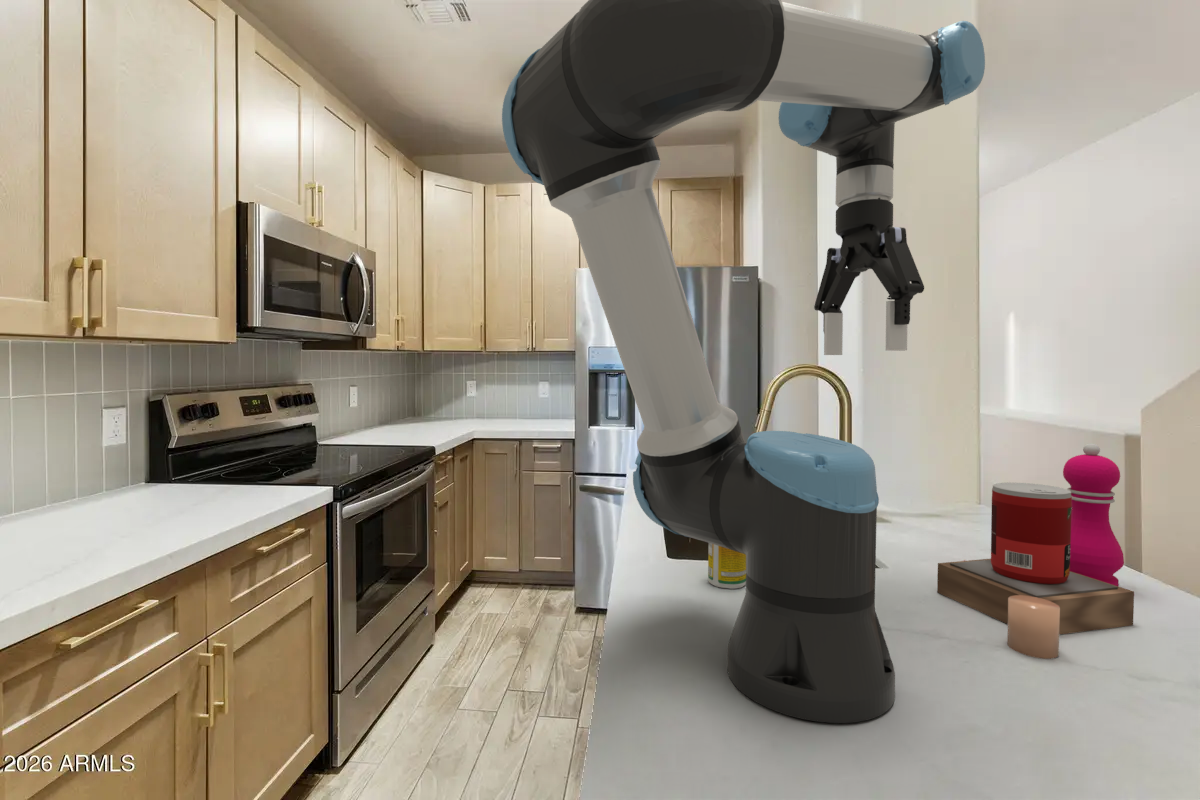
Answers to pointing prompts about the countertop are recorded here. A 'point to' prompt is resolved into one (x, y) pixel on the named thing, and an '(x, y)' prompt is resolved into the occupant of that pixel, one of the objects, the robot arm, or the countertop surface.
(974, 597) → the wooden box
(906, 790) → the countertop surface
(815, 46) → the robot arm
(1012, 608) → the peach pillar candle
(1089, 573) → the pepper mill
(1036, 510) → the canned food
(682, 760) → the countertop surface
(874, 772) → the countertop surface
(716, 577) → the supplement bottle
